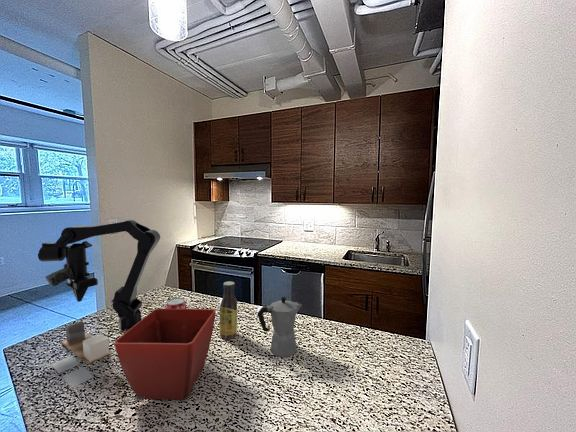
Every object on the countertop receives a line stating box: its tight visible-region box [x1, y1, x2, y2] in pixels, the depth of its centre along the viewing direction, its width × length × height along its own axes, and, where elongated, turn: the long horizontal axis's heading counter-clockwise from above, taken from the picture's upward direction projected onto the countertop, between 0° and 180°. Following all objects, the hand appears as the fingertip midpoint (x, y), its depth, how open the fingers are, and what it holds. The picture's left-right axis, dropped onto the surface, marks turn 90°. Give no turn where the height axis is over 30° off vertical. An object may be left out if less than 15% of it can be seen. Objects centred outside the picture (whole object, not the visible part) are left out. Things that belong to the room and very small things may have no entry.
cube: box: [83, 333, 110, 363], centre depth 81 cm, size 5×5×5 cm
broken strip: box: [50, 355, 95, 389], centre depth 74 cm, size 17×5×1 cm, turn 56°
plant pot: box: [113, 308, 216, 401], centre depth 71 cm, size 19×19×17 cm
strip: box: [61, 320, 114, 365], centre depth 86 cm, size 22×7×6 cm, turn 57°
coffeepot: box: [257, 296, 303, 358], centre depth 85 cm, size 15×9×18 cm, turn 110°
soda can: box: [164, 297, 188, 309], centre depth 95 cm, size 7×7×13 cm
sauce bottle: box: [219, 280, 238, 340], centre depth 94 cm, size 6×6×20 cm
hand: (79, 301), depth 96 cm, fingers closed
